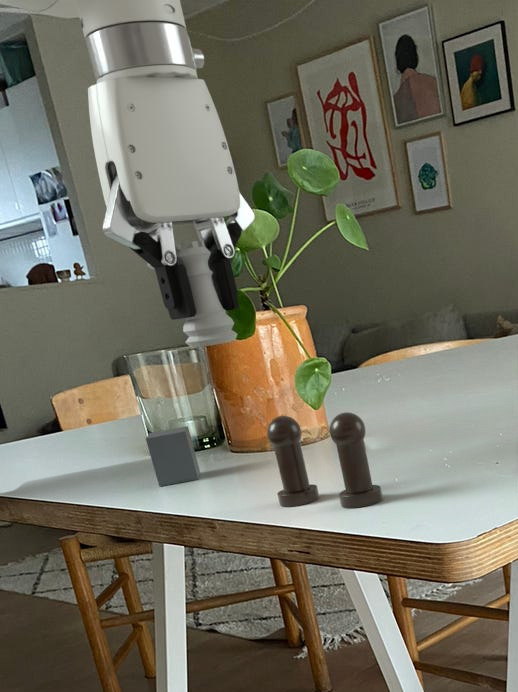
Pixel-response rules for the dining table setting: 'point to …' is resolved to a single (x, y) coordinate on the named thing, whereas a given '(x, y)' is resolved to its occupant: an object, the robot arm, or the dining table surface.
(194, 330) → the rook chess piece
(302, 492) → the pawn
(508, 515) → the dining table surface
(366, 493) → the pawn
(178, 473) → the grey block
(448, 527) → the dining table surface
